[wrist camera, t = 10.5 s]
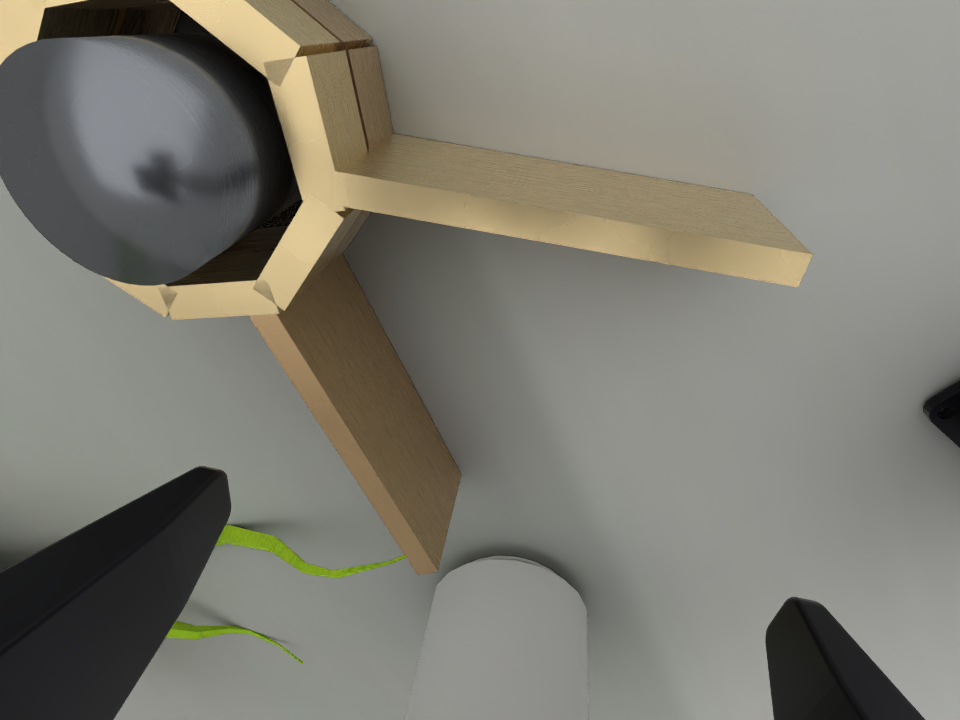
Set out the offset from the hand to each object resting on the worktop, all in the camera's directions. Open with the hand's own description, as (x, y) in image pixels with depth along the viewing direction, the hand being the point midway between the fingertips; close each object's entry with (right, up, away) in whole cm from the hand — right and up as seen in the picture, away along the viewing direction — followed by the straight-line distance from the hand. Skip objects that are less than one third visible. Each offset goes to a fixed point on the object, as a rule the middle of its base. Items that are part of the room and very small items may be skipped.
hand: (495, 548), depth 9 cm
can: (+1, -9, +19) cm, 21 cm away
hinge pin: (-7, +10, +9) cm, 15 cm away
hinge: (-4, +8, +10) cm, 13 cm away
